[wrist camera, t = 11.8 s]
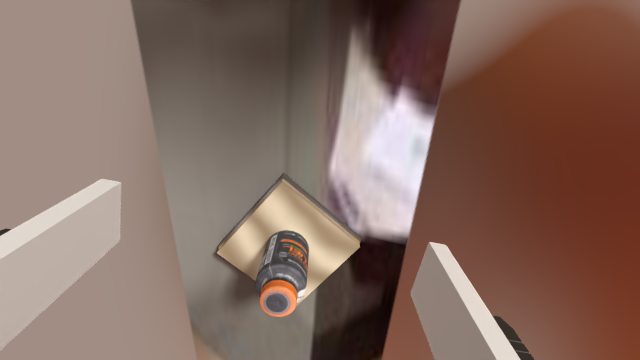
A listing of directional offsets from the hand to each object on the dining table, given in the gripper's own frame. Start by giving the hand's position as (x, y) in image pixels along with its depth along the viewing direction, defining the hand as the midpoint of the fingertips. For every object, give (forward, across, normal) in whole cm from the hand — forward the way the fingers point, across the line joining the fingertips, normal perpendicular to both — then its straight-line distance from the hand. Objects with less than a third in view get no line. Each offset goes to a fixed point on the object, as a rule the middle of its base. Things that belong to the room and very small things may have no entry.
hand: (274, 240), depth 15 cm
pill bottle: (+29, +1, -18) cm, 34 cm away
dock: (+32, +1, -18) cm, 36 cm away
